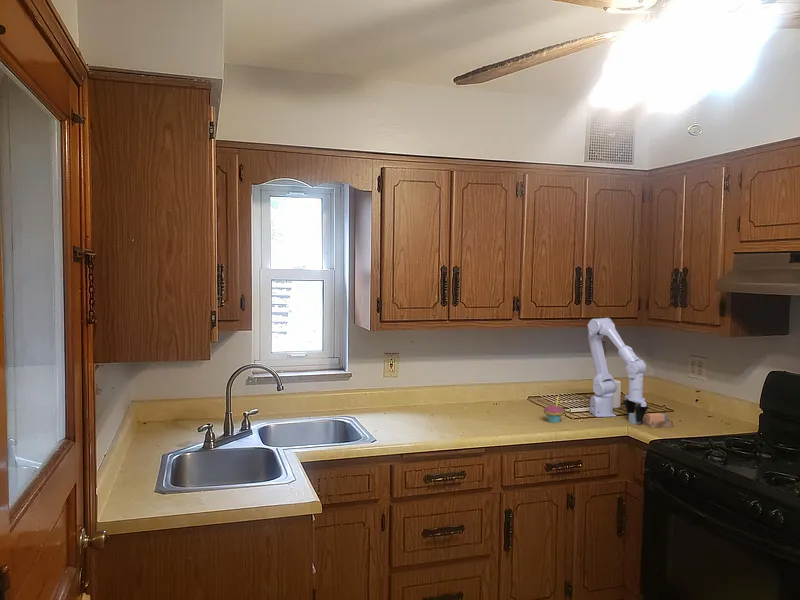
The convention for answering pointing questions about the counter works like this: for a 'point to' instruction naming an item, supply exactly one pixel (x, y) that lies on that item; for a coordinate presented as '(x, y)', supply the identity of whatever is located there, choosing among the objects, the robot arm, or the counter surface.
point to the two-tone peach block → (656, 417)
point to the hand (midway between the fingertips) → (635, 419)
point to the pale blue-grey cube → (633, 418)
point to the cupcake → (554, 412)
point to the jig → (658, 424)
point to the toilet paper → (617, 395)
